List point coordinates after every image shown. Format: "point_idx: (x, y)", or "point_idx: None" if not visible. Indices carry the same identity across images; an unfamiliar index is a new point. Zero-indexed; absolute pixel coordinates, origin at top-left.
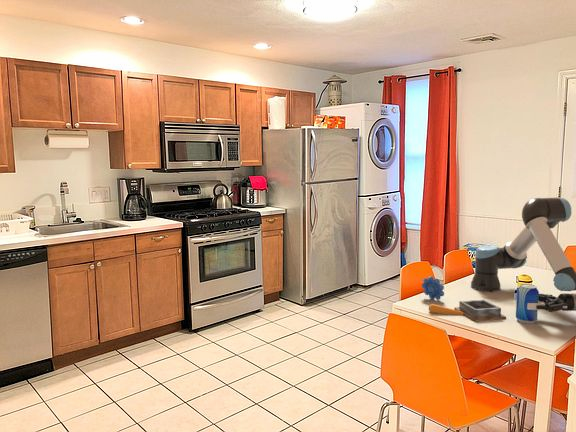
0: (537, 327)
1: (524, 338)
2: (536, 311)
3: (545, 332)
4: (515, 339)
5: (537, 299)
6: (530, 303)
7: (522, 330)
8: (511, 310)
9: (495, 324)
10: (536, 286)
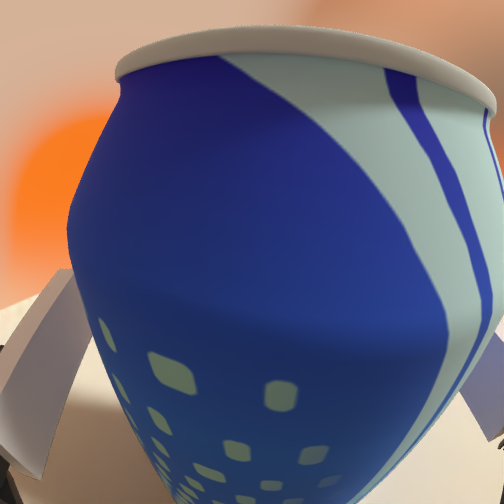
0: (103, 491)
1: (3, 333)
2: (171, 493)
3: (15, 474)
4: (13, 305)
5: (128, 409)
6: (50, 282)
7: None
8: (471, 417)
9: None
10: (335, 31)
